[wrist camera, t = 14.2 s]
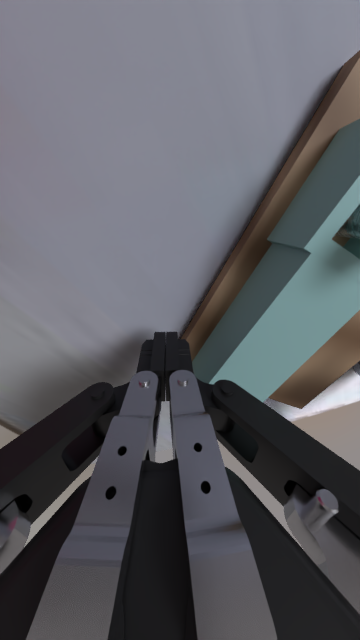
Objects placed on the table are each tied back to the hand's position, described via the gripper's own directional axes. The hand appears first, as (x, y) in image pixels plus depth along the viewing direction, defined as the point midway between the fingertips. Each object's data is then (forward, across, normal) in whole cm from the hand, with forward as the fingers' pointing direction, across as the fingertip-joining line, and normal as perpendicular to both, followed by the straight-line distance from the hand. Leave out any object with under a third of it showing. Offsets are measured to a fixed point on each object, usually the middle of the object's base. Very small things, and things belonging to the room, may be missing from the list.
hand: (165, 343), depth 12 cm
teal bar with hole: (+2, -7, -3) cm, 8 cm away
